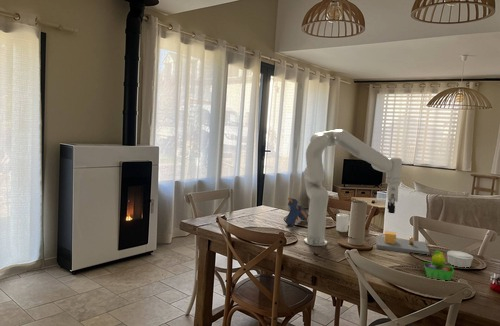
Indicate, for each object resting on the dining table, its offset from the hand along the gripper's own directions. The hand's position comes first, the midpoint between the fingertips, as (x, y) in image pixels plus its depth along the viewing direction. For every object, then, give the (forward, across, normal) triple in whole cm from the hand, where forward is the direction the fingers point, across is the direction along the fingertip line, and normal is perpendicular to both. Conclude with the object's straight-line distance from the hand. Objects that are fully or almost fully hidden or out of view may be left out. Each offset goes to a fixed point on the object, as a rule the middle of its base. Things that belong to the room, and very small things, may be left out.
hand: (390, 211), depth 205 cm
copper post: (+17, 0, -12) cm, 21 cm away
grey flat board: (+19, 0, -6) cm, 20 cm away
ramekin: (+20, -17, -32) cm, 41 cm away
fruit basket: (+20, -39, -19) cm, 48 cm away
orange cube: (+17, 0, 0) cm, 17 cm away
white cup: (+19, +17, +27) cm, 37 cm away
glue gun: (+19, +21, +56) cm, 62 cm away
